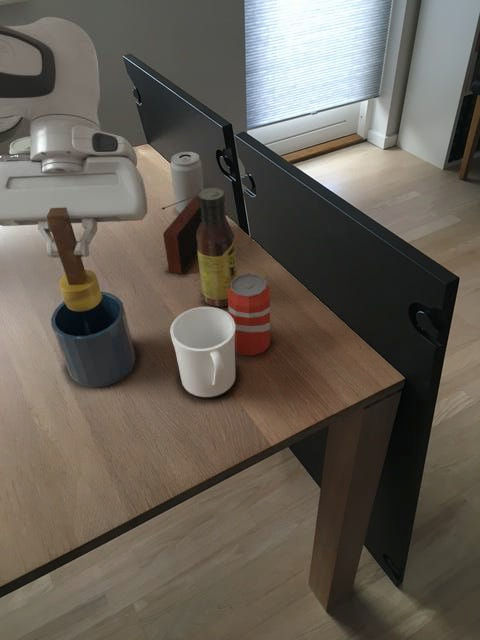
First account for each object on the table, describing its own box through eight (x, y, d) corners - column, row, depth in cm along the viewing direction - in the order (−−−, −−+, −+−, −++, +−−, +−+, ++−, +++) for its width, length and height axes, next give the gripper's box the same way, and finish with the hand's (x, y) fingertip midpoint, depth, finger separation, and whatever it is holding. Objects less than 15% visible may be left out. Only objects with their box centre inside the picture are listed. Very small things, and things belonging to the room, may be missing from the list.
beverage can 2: (269, 329, 87) (269, 270, 79) (270, 358, 82) (270, 297, 74) (231, 330, 87) (227, 271, 79) (230, 358, 83) (226, 298, 75)
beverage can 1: (203, 200, 119) (199, 148, 111) (207, 215, 114) (202, 162, 106) (175, 203, 118) (168, 152, 110) (177, 219, 114) (170, 166, 106)
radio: (203, 226, 111) (196, 157, 101) (216, 228, 110) (210, 159, 100) (162, 278, 99) (150, 206, 89) (177, 281, 98) (166, 208, 88)
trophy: (61, 312, 73) (30, 223, 64) (70, 289, 77) (41, 202, 67) (98, 311, 73) (72, 221, 64) (105, 287, 77) (81, 200, 67)
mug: (171, 367, 82) (162, 316, 75) (225, 350, 84) (222, 300, 77) (193, 420, 74) (186, 369, 67) (253, 400, 76) (251, 349, 70)
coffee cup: (26, 205, 120) (9, 154, 112) (21, 189, 126) (4, 140, 118) (64, 196, 123) (50, 146, 115) (58, 181, 129) (44, 132, 121)
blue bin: (61, 388, 80) (42, 340, 73) (76, 340, 87) (60, 292, 80) (130, 386, 79) (117, 337, 73) (139, 338, 87) (128, 290, 80)
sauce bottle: (240, 306, 92) (235, 203, 78) (204, 310, 91) (192, 207, 78) (236, 283, 97) (230, 182, 83) (201, 287, 96) (190, 186, 83)
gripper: (-25, 145, 67) (-24, 255, 66) (138, 138, 66) (141, 249, 66) (-1, 162, 73) (0, 263, 73) (148, 156, 73) (151, 257, 72)
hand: (68, 256), depth 69 cm, fingers closed on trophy
